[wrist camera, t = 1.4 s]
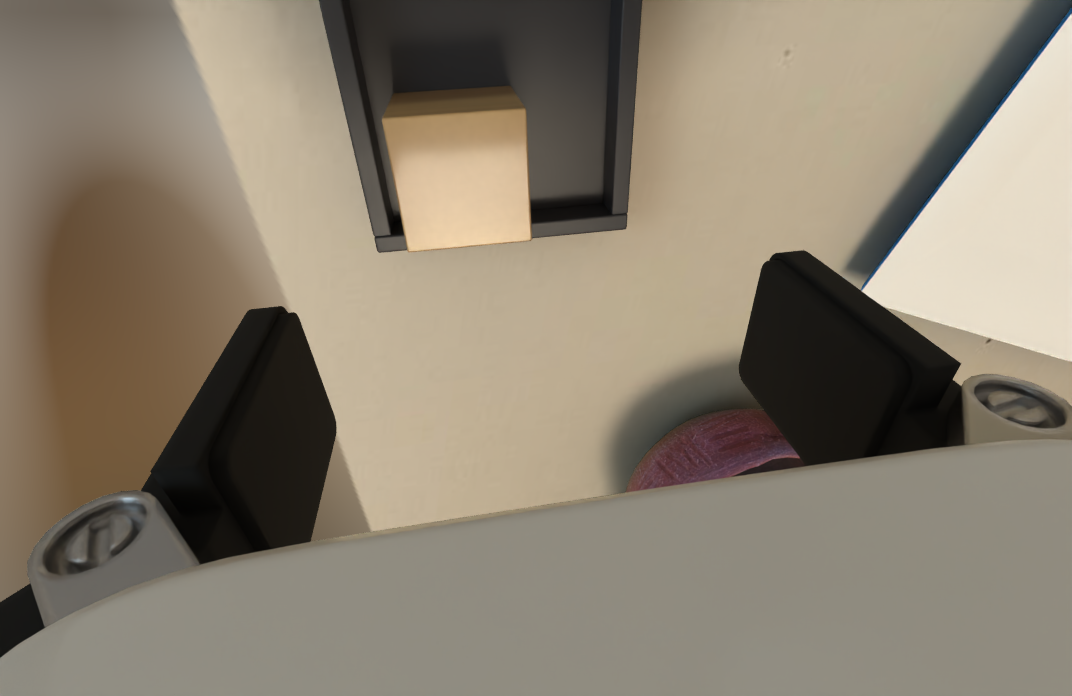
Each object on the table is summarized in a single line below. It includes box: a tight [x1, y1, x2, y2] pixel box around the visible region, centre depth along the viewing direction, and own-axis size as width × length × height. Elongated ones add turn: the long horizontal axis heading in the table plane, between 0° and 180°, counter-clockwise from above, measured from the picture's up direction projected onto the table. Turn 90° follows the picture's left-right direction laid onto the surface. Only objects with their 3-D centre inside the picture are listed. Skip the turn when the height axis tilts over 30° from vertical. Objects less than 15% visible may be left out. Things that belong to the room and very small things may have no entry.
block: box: [382, 86, 532, 252], centre depth 19 cm, size 4×4×4 cm
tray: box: [319, 0, 642, 253], centre depth 18 cm, size 15×10×2 cm
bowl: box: [626, 409, 806, 493], centre depth 32 cm, size 16×13×8 cm
